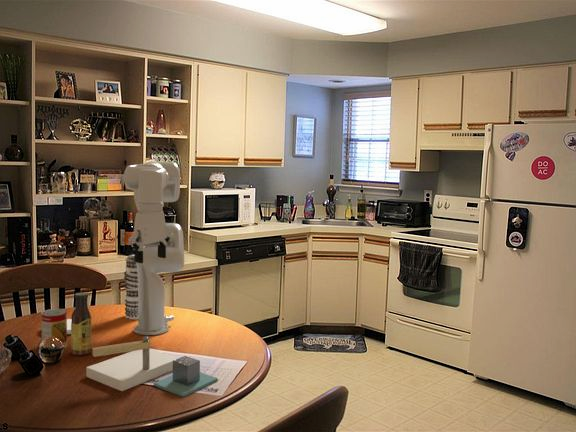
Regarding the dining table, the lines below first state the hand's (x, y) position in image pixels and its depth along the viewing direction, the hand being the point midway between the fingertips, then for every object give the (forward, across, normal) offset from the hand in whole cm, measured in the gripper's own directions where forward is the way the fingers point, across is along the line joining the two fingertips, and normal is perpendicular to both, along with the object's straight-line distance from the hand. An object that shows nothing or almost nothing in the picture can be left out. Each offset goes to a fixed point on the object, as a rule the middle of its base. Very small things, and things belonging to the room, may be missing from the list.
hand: (150, 260), depth 183 cm
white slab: (+31, +14, +8) cm, 35 cm away
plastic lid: (+33, +4, -42) cm, 54 cm away
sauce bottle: (+32, +14, -18) cm, 39 cm away
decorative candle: (+33, -24, -35) cm, 54 cm away
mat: (+31, +10, +26) cm, 42 cm away
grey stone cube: (+30, +10, +26) cm, 41 cm away
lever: (+21, +21, +11) cm, 32 cm away
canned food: (+32, +16, -30) cm, 47 cm away
